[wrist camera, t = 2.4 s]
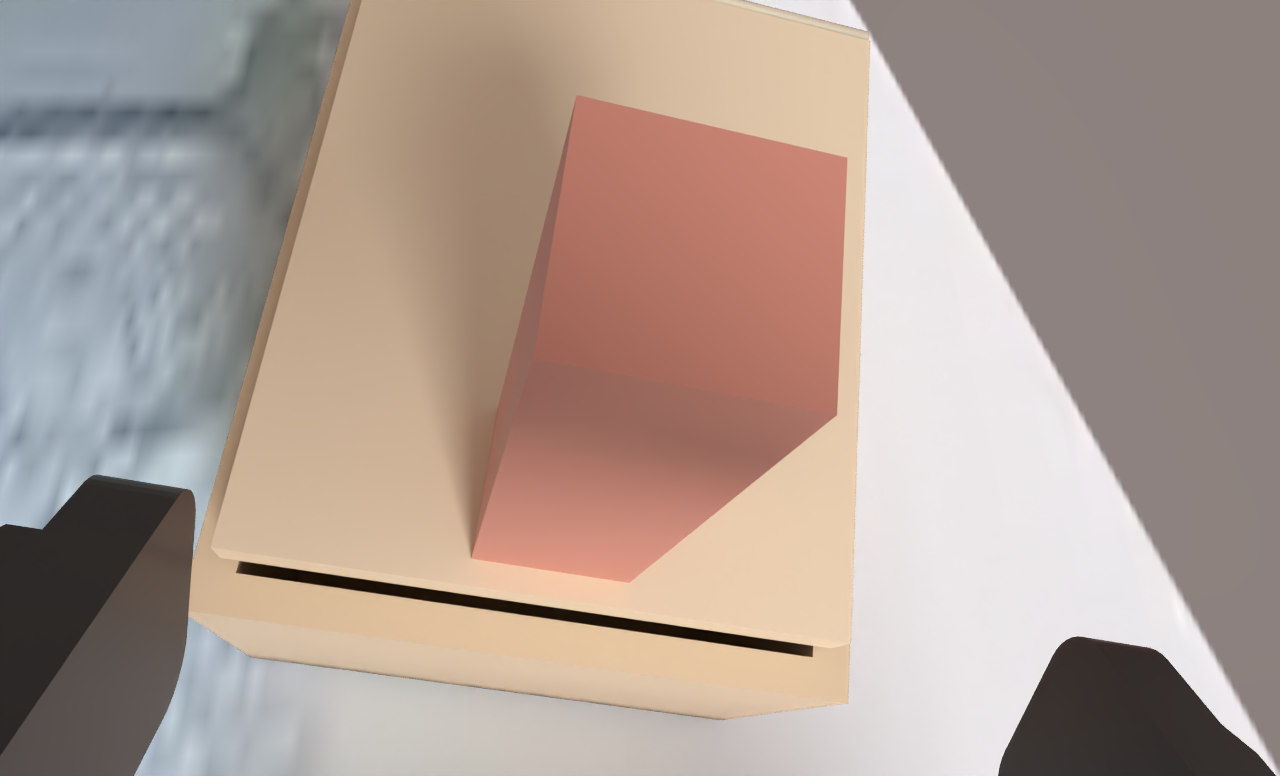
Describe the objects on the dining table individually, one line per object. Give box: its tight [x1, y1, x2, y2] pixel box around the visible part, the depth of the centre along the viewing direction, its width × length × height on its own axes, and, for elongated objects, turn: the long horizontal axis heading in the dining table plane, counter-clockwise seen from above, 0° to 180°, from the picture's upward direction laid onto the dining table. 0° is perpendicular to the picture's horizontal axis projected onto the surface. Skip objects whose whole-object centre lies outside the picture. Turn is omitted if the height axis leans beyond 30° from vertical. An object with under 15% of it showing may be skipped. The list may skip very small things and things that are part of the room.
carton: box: [188, 0, 850, 720], centre depth 26 cm, size 16×13×9 cm
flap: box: [211, 0, 870, 648], centre depth 17 cm, size 15×12×11 cm
